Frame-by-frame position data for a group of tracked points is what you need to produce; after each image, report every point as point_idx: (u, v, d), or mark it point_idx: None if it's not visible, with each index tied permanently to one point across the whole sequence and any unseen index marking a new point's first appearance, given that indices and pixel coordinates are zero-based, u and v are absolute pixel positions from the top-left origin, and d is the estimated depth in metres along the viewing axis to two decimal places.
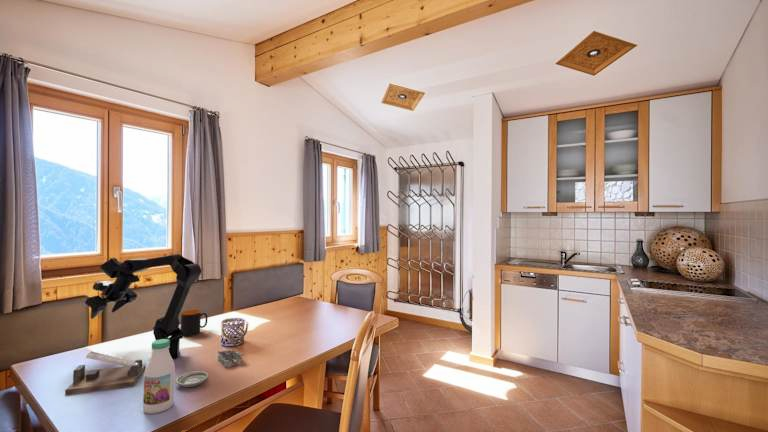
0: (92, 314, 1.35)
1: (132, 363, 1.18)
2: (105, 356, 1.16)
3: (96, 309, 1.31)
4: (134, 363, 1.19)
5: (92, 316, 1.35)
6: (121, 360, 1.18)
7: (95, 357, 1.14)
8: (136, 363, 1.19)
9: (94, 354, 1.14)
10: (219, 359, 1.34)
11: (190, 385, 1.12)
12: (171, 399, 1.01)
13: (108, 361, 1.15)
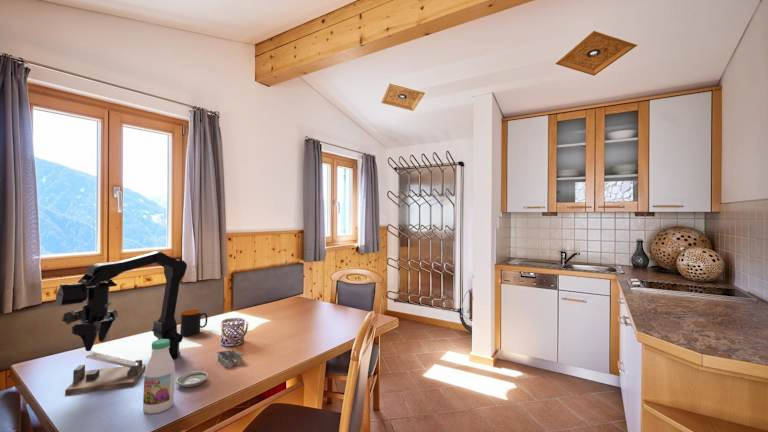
0: (87, 345, 1.10)
1: (132, 363, 1.18)
2: (105, 356, 1.16)
3: (94, 330, 1.08)
4: (134, 363, 1.19)
5: (88, 348, 1.11)
6: (121, 360, 1.18)
7: (95, 357, 1.14)
8: (136, 363, 1.19)
9: (94, 354, 1.14)
10: (219, 359, 1.34)
11: (190, 385, 1.12)
12: (171, 399, 1.01)
13: (108, 361, 1.15)
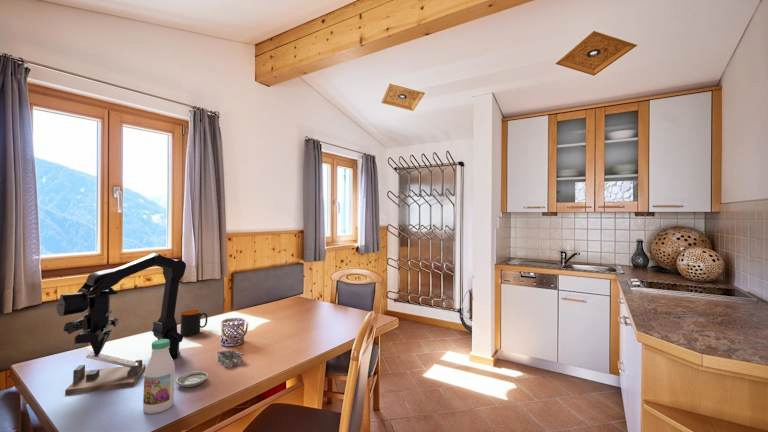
0: (96, 349, 1.14)
1: (132, 363, 1.18)
2: (105, 356, 1.16)
3: (97, 339, 1.08)
4: (134, 363, 1.19)
5: (97, 352, 1.14)
6: (121, 360, 1.18)
7: (95, 357, 1.14)
8: (136, 363, 1.19)
9: (94, 354, 1.14)
10: (219, 359, 1.34)
11: (190, 385, 1.12)
12: (171, 399, 1.01)
13: (108, 361, 1.15)
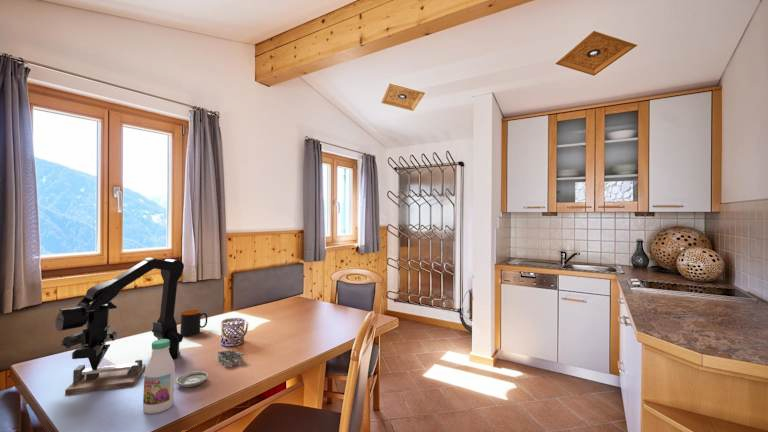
0: (93, 364, 1.14)
1: (131, 365, 1.18)
2: (102, 367, 1.16)
3: (95, 355, 1.07)
4: (133, 364, 1.19)
5: (94, 366, 1.14)
6: (119, 366, 1.17)
7: (91, 371, 1.13)
8: (135, 363, 1.19)
9: (89, 369, 1.14)
10: (219, 359, 1.34)
11: (190, 385, 1.12)
12: (171, 399, 1.01)
13: (106, 370, 1.15)
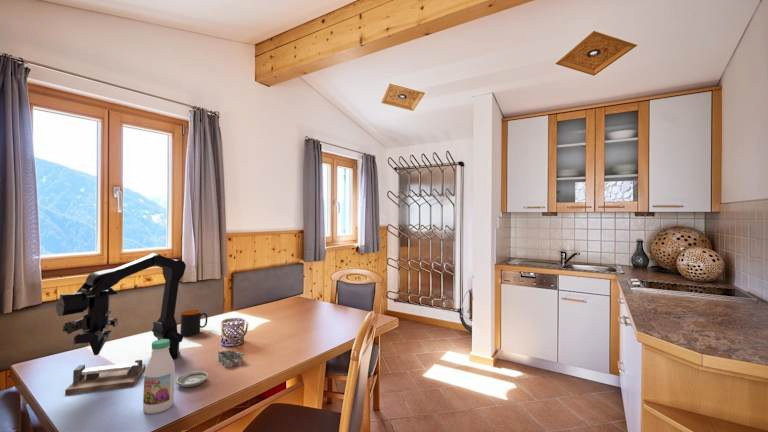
0: (95, 349, 1.14)
1: (131, 365, 1.18)
2: (102, 367, 1.16)
3: (96, 339, 1.08)
4: (133, 364, 1.19)
5: (96, 352, 1.14)
6: (119, 366, 1.17)
7: (91, 371, 1.13)
8: (135, 363, 1.19)
9: (89, 369, 1.14)
10: (219, 359, 1.34)
11: (190, 385, 1.12)
12: (171, 399, 1.01)
13: (106, 370, 1.15)
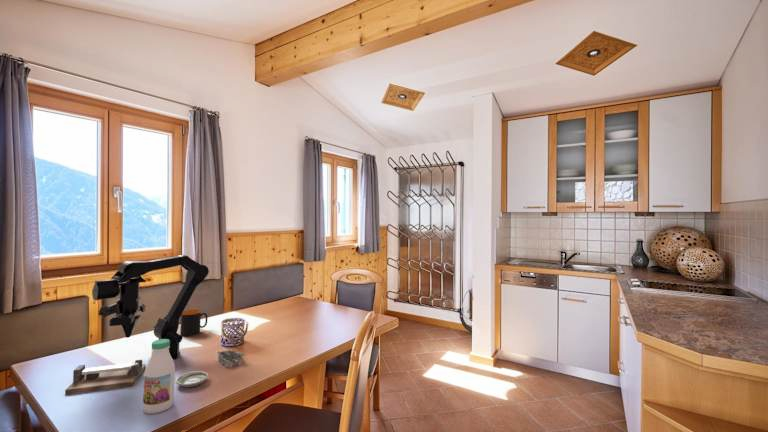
0: (127, 332, 1.24)
1: (131, 365, 1.18)
2: (102, 367, 1.16)
3: (130, 322, 1.17)
4: (133, 364, 1.19)
5: (128, 334, 1.24)
6: (119, 366, 1.17)
7: (91, 371, 1.13)
8: (135, 363, 1.19)
9: (89, 369, 1.14)
10: (219, 359, 1.34)
11: (190, 385, 1.12)
12: (171, 399, 1.01)
13: (106, 370, 1.15)
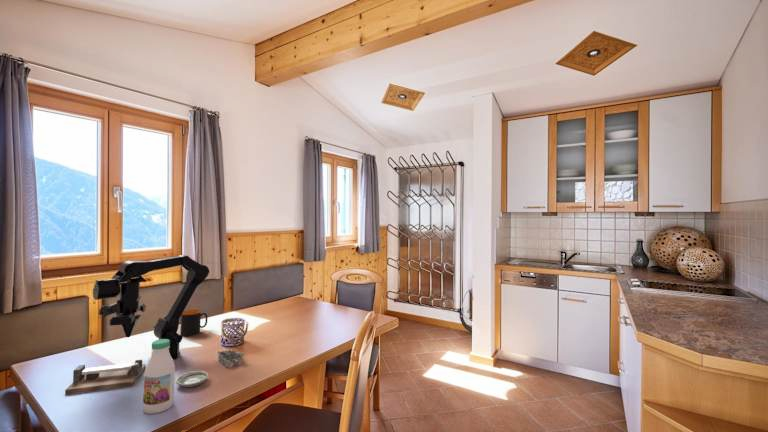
0: (127, 331, 1.24)
1: (131, 365, 1.18)
2: (102, 367, 1.16)
3: (130, 322, 1.18)
4: (133, 364, 1.19)
5: (128, 334, 1.24)
6: (119, 366, 1.17)
7: (91, 371, 1.13)
8: (135, 363, 1.19)
9: (89, 369, 1.14)
10: (219, 359, 1.34)
11: (190, 385, 1.12)
12: (171, 399, 1.01)
13: (106, 370, 1.15)
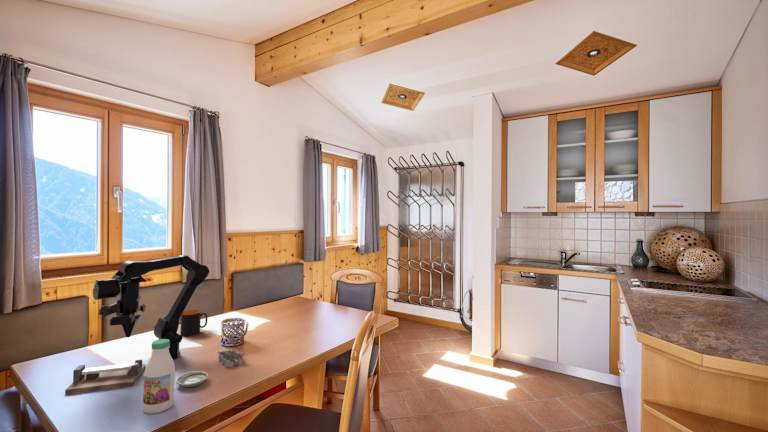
0: (127, 331, 1.24)
1: (131, 365, 1.18)
2: (102, 367, 1.16)
3: (130, 322, 1.18)
4: (133, 364, 1.19)
5: (128, 334, 1.24)
6: (119, 366, 1.17)
7: (91, 371, 1.13)
8: (135, 363, 1.19)
9: (89, 369, 1.14)
10: (219, 359, 1.34)
11: (190, 385, 1.12)
12: (171, 399, 1.01)
13: (106, 370, 1.15)
